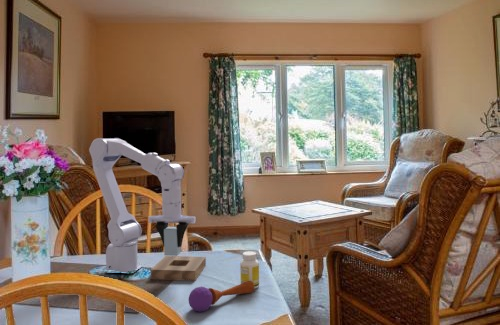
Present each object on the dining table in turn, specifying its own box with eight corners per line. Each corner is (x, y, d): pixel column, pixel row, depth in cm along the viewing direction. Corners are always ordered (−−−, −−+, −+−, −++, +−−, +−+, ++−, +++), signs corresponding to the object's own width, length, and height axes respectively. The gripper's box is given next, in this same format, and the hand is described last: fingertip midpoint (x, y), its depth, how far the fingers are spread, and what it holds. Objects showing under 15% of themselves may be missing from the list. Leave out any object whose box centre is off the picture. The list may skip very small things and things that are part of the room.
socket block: (151, 279, 122) (150, 269, 121) (165, 264, 135) (165, 255, 135) (195, 280, 120) (195, 270, 120) (205, 265, 134) (205, 256, 134)
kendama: (259, 281, 109) (199, 296, 95) (255, 301, 109) (195, 318, 96) (245, 272, 113) (186, 284, 99) (241, 291, 114) (182, 306, 100)
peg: (164, 255, 121) (163, 229, 120) (168, 251, 125) (168, 226, 124) (177, 255, 120) (176, 229, 120) (180, 251, 124) (180, 226, 124)
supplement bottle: (258, 282, 118) (258, 250, 117) (259, 289, 112) (259, 255, 112) (240, 283, 118) (240, 250, 117) (240, 290, 112) (240, 256, 112)
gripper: (144, 204, 119) (145, 248, 119) (191, 205, 117) (191, 250, 118) (152, 200, 126) (153, 242, 126) (197, 201, 124) (197, 243, 125)
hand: (172, 245), depth 123 cm, fingers closed on peg, 4 cm apart
